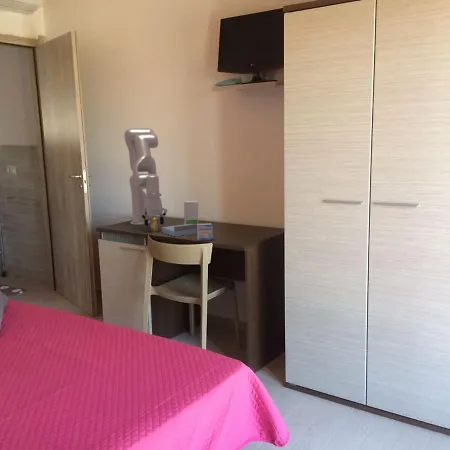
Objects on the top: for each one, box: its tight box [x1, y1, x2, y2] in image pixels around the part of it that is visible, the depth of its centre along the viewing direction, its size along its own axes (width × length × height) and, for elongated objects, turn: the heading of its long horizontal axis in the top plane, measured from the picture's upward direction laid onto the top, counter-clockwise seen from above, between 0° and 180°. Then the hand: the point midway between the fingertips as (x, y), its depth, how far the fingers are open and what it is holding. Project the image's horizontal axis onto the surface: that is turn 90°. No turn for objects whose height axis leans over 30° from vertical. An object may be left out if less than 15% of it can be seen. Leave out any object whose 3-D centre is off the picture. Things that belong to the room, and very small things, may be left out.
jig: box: [161, 222, 204, 237], centre depth 301 cm, size 16×20×5 cm
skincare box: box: [183, 200, 199, 225], centre depth 321 cm, size 8×7×16 cm
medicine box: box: [196, 222, 214, 242], centre depth 280 cm, size 8×4×9 cm, turn 104°
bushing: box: [148, 216, 159, 233], centre depth 306 cm, size 5×5×8 cm
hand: (154, 225), depth 306 cm, fingers open, 9 cm apart
